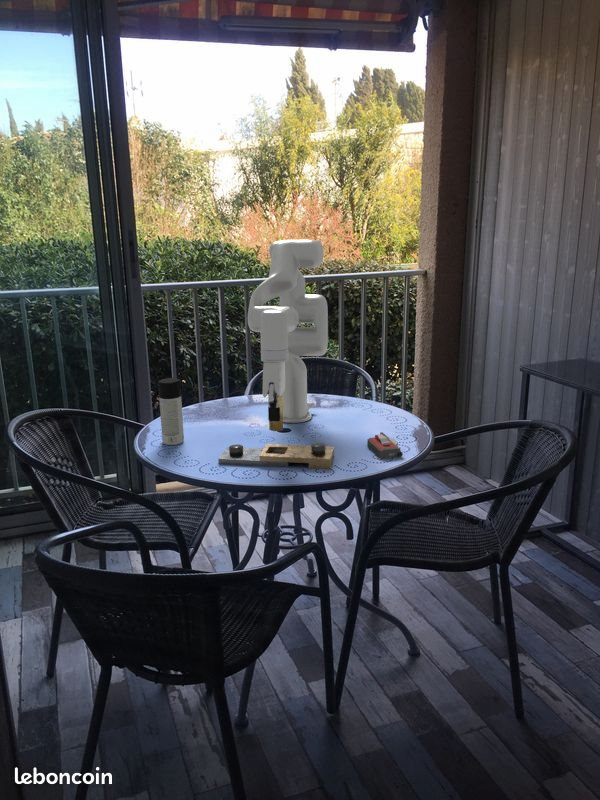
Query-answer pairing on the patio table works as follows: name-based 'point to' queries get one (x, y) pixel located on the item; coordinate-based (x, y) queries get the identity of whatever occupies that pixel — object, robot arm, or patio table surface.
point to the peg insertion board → (279, 455)
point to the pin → (279, 424)
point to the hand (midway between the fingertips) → (275, 417)
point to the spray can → (171, 411)
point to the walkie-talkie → (384, 446)
